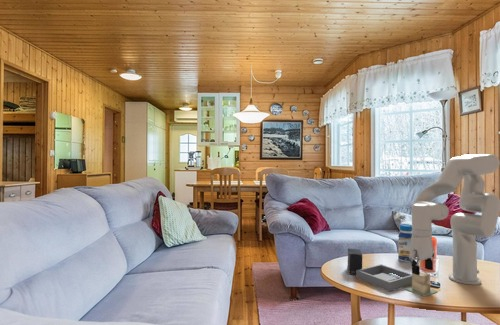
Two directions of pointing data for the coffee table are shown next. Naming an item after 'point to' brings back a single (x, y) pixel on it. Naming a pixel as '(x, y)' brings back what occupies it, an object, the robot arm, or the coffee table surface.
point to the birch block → (421, 282)
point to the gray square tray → (384, 277)
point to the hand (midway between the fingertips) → (422, 271)
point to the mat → (421, 292)
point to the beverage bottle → (404, 242)
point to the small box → (354, 261)
